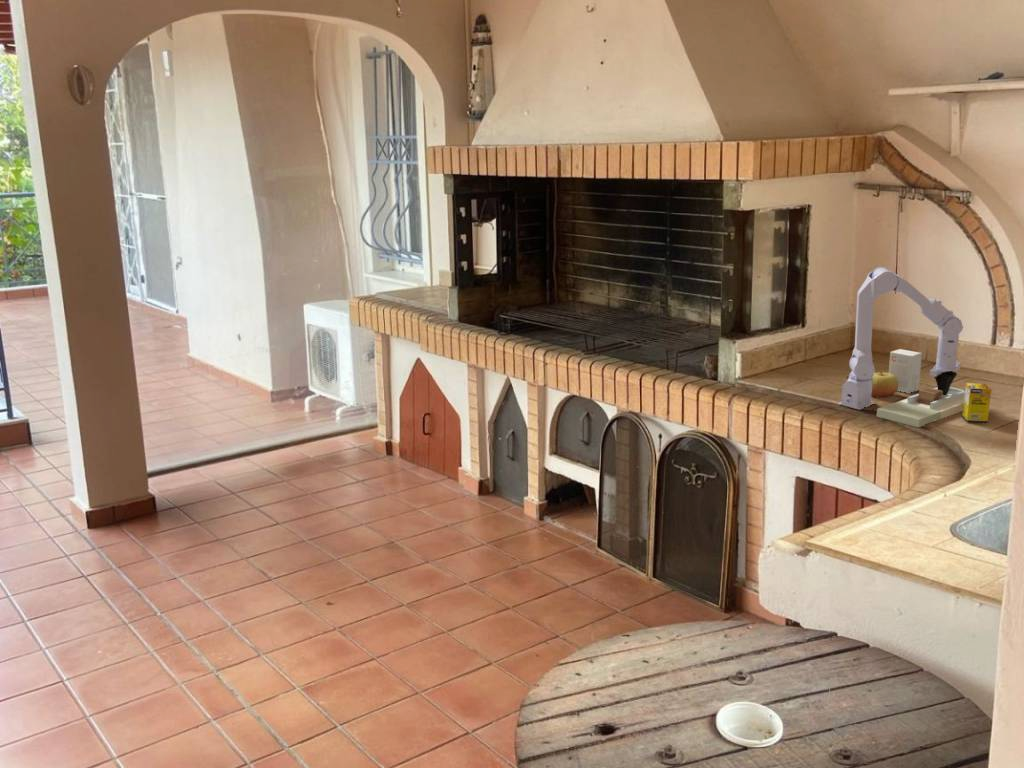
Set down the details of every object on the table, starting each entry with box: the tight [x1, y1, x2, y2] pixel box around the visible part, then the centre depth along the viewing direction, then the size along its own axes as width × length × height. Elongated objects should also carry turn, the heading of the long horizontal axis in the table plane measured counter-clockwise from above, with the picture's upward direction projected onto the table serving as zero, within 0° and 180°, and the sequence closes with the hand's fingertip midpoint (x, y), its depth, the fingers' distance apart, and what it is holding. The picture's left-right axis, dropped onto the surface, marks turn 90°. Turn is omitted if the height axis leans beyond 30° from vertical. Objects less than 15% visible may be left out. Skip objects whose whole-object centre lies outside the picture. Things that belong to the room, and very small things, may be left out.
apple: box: [871, 371, 898, 398], centre depth 319 cm, size 10×10×8 cm
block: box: [918, 387, 943, 405], centre depth 302 cm, size 5×5×4 cm
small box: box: [888, 348, 923, 394], centre depth 324 cm, size 8×6×13 cm
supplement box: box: [961, 382, 992, 424], centre depth 292 cm, size 6×6×11 cm
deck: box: [876, 386, 965, 428], centre depth 302 cm, size 32×14×4 cm, turn 127°
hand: (942, 394), depth 307 cm, fingers closed
